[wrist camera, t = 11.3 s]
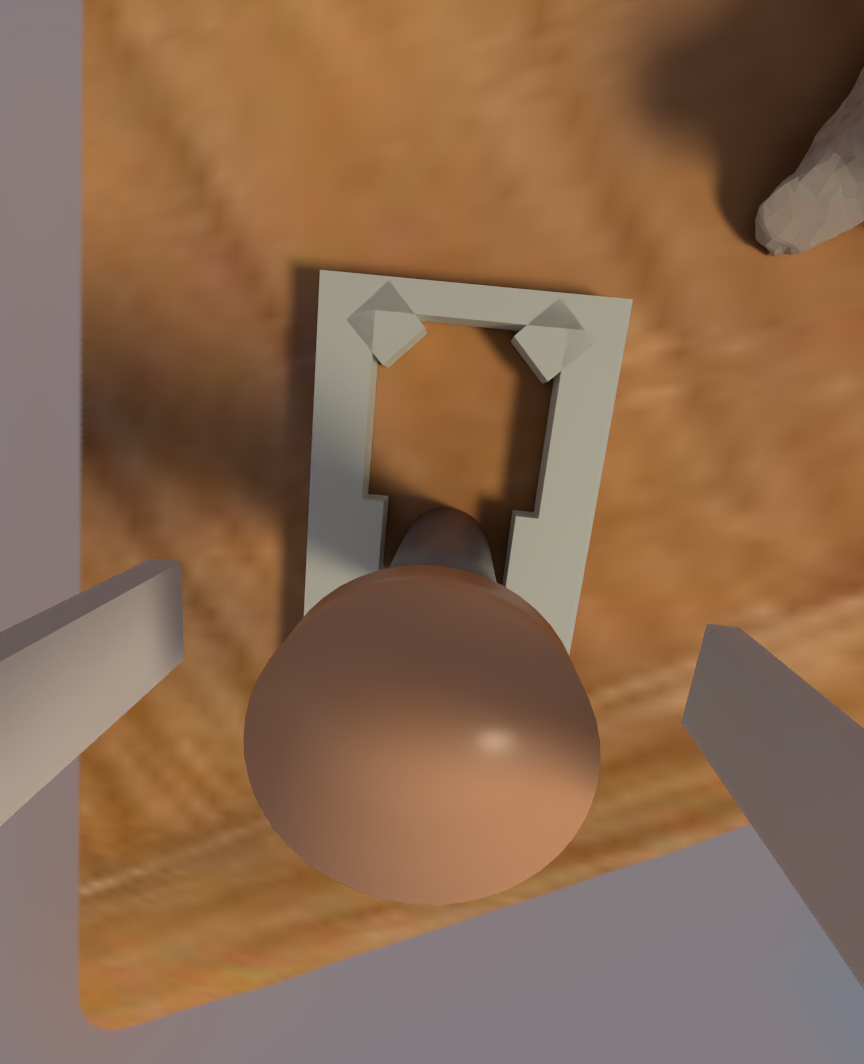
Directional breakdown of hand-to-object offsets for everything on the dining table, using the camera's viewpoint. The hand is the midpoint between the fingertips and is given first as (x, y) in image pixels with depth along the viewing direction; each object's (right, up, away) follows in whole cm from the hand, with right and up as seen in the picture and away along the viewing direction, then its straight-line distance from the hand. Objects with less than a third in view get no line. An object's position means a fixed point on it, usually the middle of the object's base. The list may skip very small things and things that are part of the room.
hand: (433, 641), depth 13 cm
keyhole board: (+1, +3, +10) cm, 11 cm away
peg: (+1, +2, +11) cm, 11 cm away
